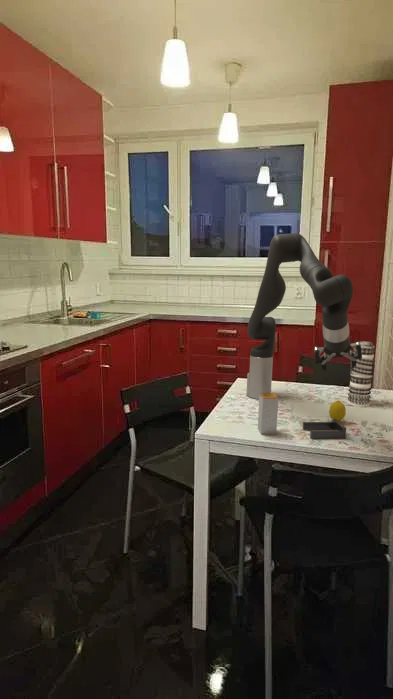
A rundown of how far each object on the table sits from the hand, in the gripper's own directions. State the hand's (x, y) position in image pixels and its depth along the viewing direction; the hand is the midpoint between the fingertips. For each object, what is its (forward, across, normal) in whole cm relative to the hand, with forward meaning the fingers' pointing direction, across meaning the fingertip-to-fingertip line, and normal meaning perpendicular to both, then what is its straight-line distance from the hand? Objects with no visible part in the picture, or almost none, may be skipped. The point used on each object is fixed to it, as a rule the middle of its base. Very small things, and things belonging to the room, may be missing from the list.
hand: (338, 367), depth 147 cm
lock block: (+9, +25, +16) cm, 31 cm away
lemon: (+23, +3, +6) cm, 24 cm away
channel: (+14, +8, +15) cm, 22 cm away
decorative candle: (+40, -7, -14) cm, 43 cm away
